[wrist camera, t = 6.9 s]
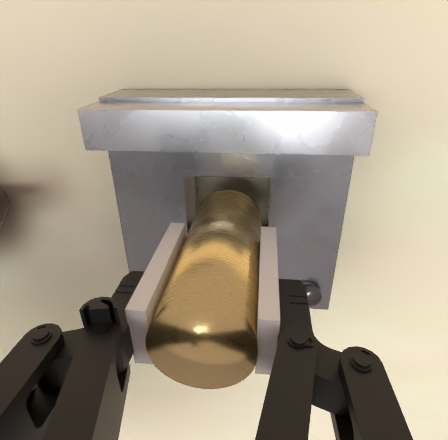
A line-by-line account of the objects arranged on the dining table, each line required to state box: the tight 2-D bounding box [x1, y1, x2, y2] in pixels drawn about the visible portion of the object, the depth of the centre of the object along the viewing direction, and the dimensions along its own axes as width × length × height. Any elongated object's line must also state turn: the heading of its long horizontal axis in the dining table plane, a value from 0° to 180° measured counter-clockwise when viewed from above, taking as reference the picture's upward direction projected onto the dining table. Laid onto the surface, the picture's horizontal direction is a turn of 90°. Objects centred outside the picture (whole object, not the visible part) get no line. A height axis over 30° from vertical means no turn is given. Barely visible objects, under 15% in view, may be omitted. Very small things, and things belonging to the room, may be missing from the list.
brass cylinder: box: [145, 190, 262, 389], centre depth 16 cm, size 4×4×10 cm
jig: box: [78, 89, 377, 309], centre depth 22 cm, size 14×14×6 cm
